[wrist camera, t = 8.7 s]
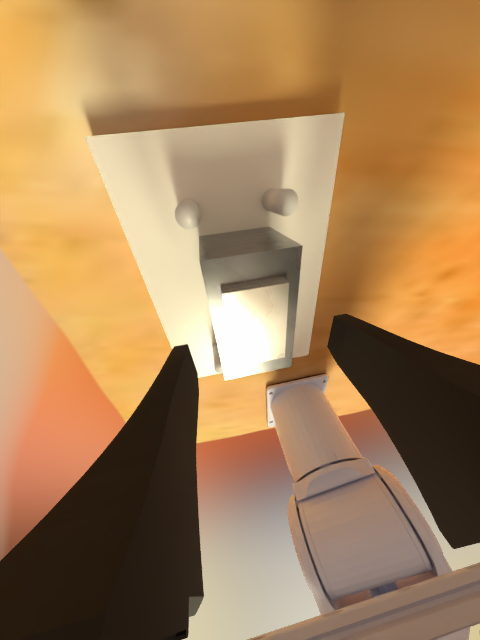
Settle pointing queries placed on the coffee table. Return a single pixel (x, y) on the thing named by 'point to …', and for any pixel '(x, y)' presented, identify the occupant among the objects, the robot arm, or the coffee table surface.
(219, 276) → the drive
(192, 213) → the white pegged panel
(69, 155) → the coffee table surface
